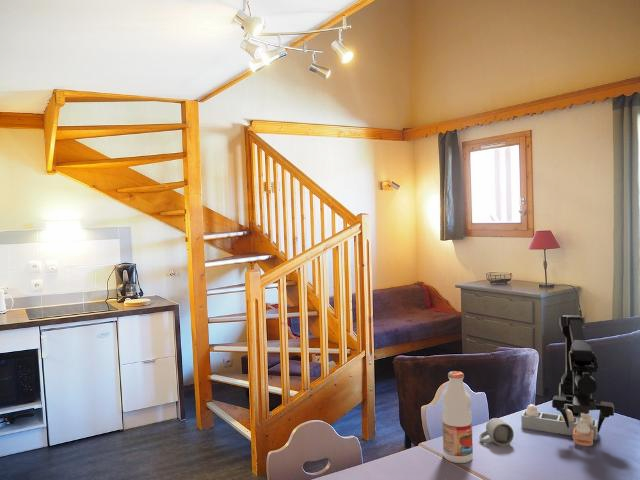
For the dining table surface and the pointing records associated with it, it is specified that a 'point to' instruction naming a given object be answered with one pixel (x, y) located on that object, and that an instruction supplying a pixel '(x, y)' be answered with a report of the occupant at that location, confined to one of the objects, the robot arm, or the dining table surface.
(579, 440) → the egg cup
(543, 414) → the egg carton
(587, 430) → the egg
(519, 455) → the dining table surface
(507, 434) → the ceramic mug
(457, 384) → the fruit juice
